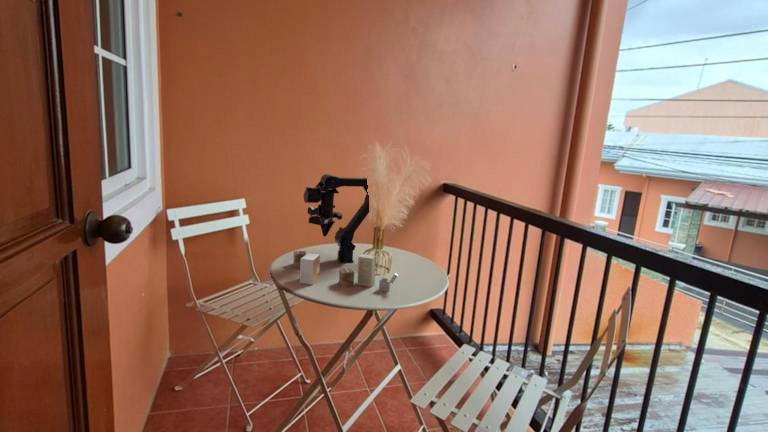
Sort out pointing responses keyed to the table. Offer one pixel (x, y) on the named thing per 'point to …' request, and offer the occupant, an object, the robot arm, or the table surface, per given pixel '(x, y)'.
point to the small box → (309, 268)
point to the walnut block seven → (298, 258)
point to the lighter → (386, 283)
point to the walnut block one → (346, 277)
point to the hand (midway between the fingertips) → (324, 236)
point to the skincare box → (366, 270)
